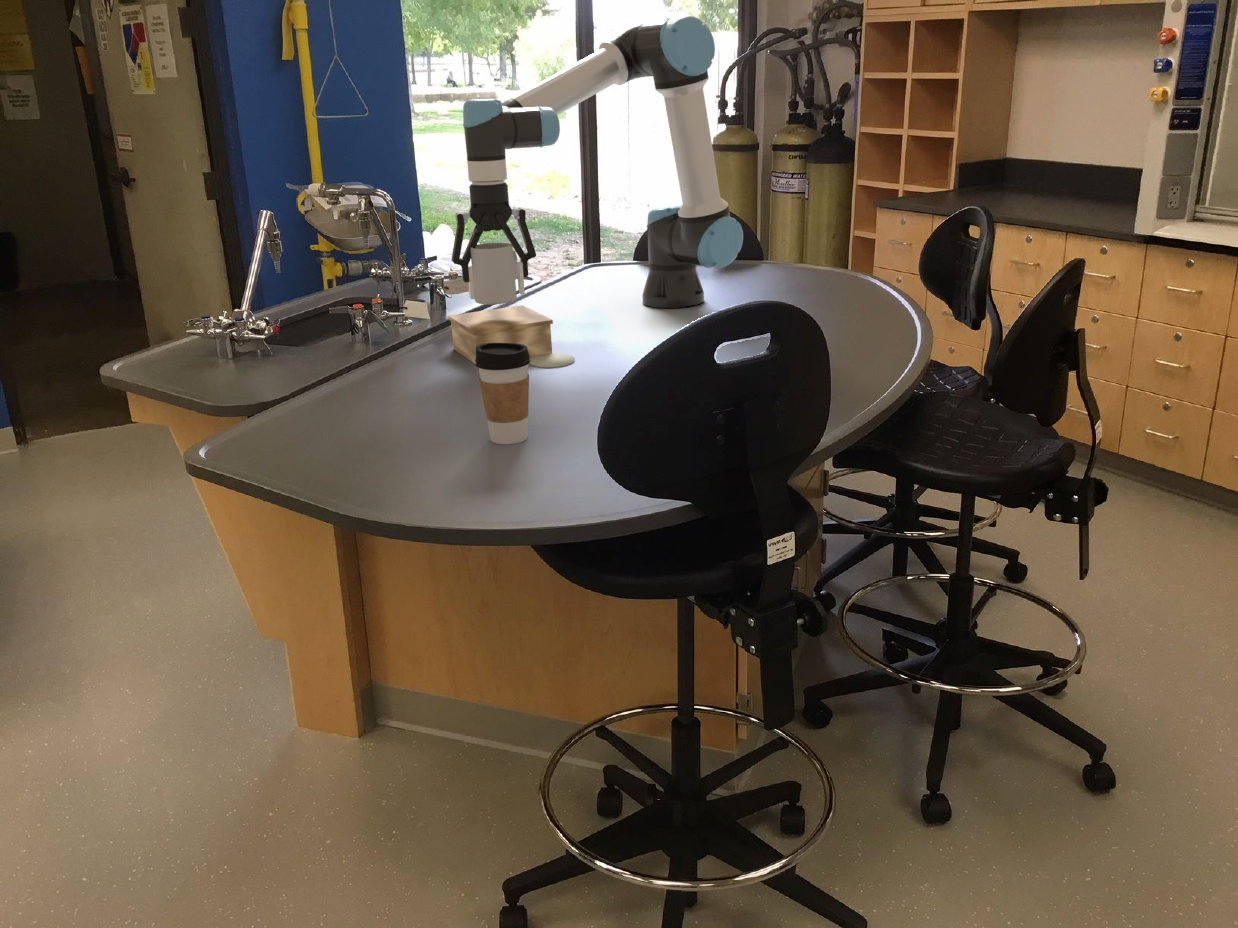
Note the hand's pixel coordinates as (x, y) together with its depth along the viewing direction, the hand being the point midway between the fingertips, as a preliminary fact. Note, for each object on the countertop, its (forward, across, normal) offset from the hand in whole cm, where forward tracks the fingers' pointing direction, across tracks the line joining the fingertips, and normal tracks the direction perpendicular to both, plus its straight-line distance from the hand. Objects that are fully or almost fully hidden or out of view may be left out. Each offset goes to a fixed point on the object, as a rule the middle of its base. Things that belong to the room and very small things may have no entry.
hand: (497, 295), depth 206 cm
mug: (+1, -1, 0) cm, 1 cm away
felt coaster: (+12, -8, +12) cm, 19 cm away
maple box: (+12, 0, 0) cm, 12 cm away
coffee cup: (+12, +8, +54) cm, 56 cm away
